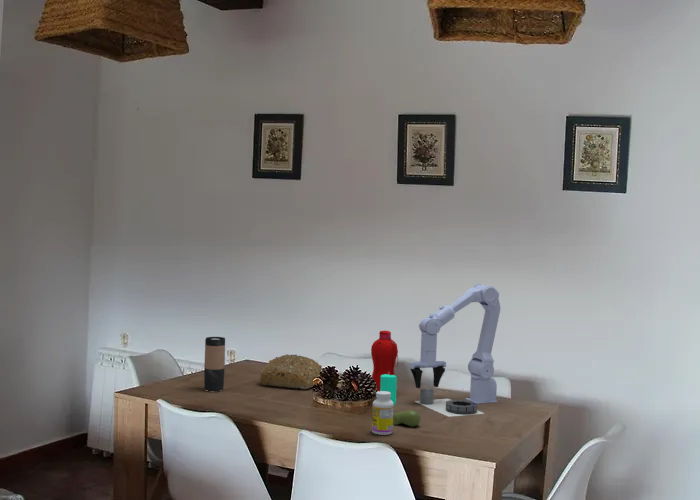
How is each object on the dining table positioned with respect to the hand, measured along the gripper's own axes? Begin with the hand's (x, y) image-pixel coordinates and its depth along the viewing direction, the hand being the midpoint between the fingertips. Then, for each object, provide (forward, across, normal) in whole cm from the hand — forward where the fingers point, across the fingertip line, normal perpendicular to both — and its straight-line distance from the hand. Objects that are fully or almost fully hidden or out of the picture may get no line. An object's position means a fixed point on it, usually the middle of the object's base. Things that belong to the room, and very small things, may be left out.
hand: (426, 387), depth 292 cm
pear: (+7, +22, +24) cm, 33 cm away
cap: (+6, 0, 0) cm, 6 cm away
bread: (+7, +35, -46) cm, 58 cm away
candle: (+7, +14, -4) cm, 16 cm away
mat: (+6, -5, +8) cm, 11 cm away
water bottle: (+6, +9, -16) cm, 19 cm away
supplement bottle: (+7, +34, +30) cm, 46 cm away
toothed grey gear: (+6, -6, +14) cm, 16 cm away
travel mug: (+7, +68, -44) cm, 81 cm away
